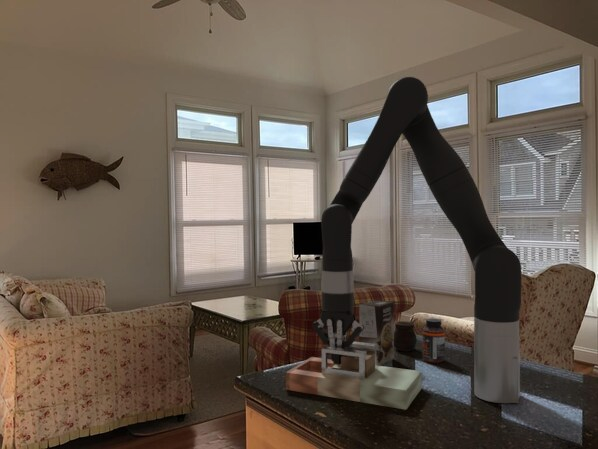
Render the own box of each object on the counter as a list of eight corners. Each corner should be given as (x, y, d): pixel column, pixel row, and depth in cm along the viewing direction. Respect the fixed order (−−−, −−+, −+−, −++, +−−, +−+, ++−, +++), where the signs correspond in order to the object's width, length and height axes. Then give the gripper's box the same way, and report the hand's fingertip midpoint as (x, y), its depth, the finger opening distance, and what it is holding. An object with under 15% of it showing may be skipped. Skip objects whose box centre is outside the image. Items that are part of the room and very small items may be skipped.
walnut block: (374, 370, 115) (374, 353, 115) (366, 378, 110) (366, 360, 110) (350, 367, 118) (350, 350, 118) (341, 374, 113) (341, 356, 113)
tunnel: (376, 368, 117) (376, 343, 117) (363, 380, 109) (363, 353, 109) (336, 363, 121) (336, 339, 121) (321, 373, 113) (321, 348, 113)
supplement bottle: (418, 358, 139) (418, 318, 139) (436, 356, 141) (436, 316, 141) (430, 364, 133) (430, 322, 133) (449, 362, 135) (449, 321, 135)
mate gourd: (395, 345, 154) (396, 313, 153) (420, 348, 150) (420, 315, 150) (388, 350, 147) (389, 317, 147) (414, 354, 144) (414, 319, 144)
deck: (421, 388, 115) (421, 371, 115) (406, 409, 102) (406, 390, 102) (311, 372, 127) (311, 356, 127) (285, 389, 115) (285, 372, 115)
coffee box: (379, 367, 131) (379, 306, 131) (358, 362, 135) (358, 303, 135) (395, 359, 139) (394, 301, 138) (374, 355, 143) (374, 299, 142)
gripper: (369, 289, 117) (369, 362, 117) (318, 286, 122) (318, 356, 123) (358, 293, 110) (359, 371, 110) (305, 290, 116) (305, 364, 116)
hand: (337, 363), depth 116 cm, fingers closed
